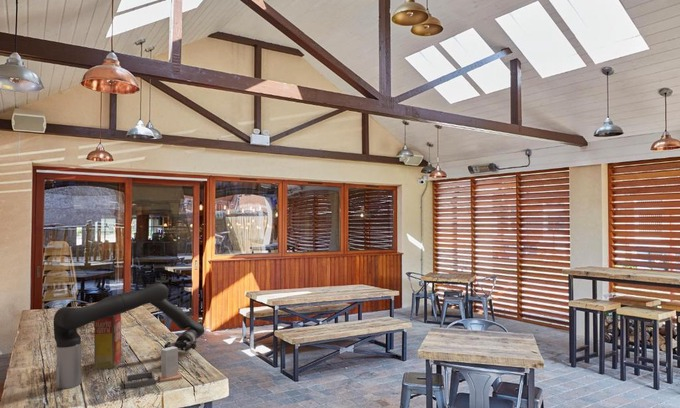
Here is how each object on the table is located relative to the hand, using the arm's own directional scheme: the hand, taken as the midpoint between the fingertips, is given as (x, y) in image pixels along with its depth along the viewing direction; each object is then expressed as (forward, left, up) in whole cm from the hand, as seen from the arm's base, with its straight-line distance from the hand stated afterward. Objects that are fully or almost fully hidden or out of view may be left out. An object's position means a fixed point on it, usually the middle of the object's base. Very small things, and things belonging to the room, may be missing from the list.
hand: (176, 350), depth 220 cm
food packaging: (-30, +26, -10) cm, 41 cm away
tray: (-16, -9, -9) cm, 20 cm away
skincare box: (-4, -9, -9) cm, 13 cm away
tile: (-3, -9, -9) cm, 13 cm away
